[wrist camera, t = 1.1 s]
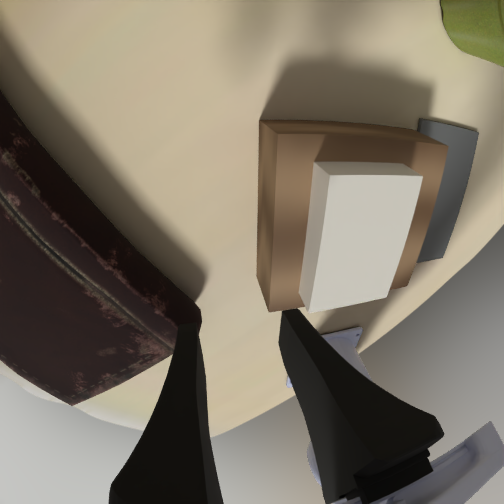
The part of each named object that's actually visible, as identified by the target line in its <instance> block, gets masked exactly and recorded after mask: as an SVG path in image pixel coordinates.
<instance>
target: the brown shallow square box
mask: <svg viewBox="0 0 504 504" xmlns="http://www.w3.org/2000/svg"><path fill="white" fill-rule="evenodd" d="M448 147H449V146H447V145H445V144H443V143H441V142H439V141H437V140H435V139H433V138H431V137H429V136H426V135H424V134H422V133H420V132H417V131H415V130H412V129H405V128H397V127H389V126H381V125H371V124H361V123H348V122H333V121H312V120H259V166H258V226H257V279H258V282H259V285H260V288H261V291H262V294H263V297H264V300H265V303H266V306H267V309H268V311H269V312H275V311H281V310H287V309H294V308H300V307H305V305H304V303H303V301H302V299H301V296H300V294H299V286H300V279H301V272H302V264H303V257H304V249H305V241H306V232H307V224H308V215H309V205H310V196H311V186H312V175H313V164H314V162H379V163H401V164H404V165H406V166H408V167H409V168H411V169H412V170H414V171H416V172H417V173H419V174H420V175H422V176H423V179H422V183H421V187H420V192H419V196H418V200H417V204H416V207H415V211H414V215H413V218H412V222H411V226H410V229H409V232H408V236H407V239H406V242H405V245H404V249H403V252H402V255H401V258H400V261H399V264H398V267H397V270H396V273H395V275H394V278H393V281H392V284H391V287H390V289H389V290H392V289H397V288H401V287H405V286H407V285H408V283H409V280H410V278H411V275H412V272H413V270H414V267H415V264H416V262H417V259H418V256H419V253H420V250H421V247H422V245H423V242H424V239H425V236H426V232H427V229H428V226H429V223H430V220H431V216H432V213H433V209H434V206H435V202H436V199H437V195H438V191H439V187H440V183H441V179H442V175H443V171H444V166H445V162H446V157H447V152H448Z"/></svg>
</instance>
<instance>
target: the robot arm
mask: <svg viewBox="0 0 504 504" xmlns="http://www.w3.org/2000/svg"><path fill="white" fill-rule="evenodd" d="M362 331H363V329H362V328H361V327H356V328H352V329H348V330H343V331H339V332H335V333H330V334H325V335H320V334H319V332H318V331H317V330H316V329H315V328H314V327H313V326H312V325H311V323H310V322H309V321H308V320H307V319H306V317H305V316H304V315H303V314H302V313H301V311H300V310H299V309H297V308H296V309H290V310H283V311H282V316H281V325H280V334H279V347H280V351H281V355H282V359H283V363H284V366H285V369H286V371H287V374H288V377H287V382H286V386H287V387H288V388H290V387H293V389H294V391H295V394H296V396H297V399H298V401H299V404H300V406H301V409H302V411H303V414H304V417H305V420H306V424H307V427H308V431H309V435H310V438H311V441H310V443H309V446H308V449H307V457H308V461H309V465H310V468H311V471H312V473H313V475H314V477H315V479H316V480H317V482H318V483H319V484H320V486H321V487H322V491H323V497H324V500H325V503H326V504H331V503H332V504H464V503H465V502H466V501H467V500H469V499H470V498H471V497H472V496H473V495H474V494H475V493H476V492H477V491H478V490H479V489H480V488H481V487H482V486H483V485H484V484H485V483H486V482H487V481H488V480H489V479H490V478H491V477H493V476H494V475H495V474H496V473H497V472H498V471H499V470H500V469H501V468H502V467H503V466H504V444H503V442H502V441H501V439H500V437H499V435H498V433H497V431H496V429H495V427H494V426H493V424H492V422H491V421H489V422H488V423H487V424H485V425H484V426H483V427H482V428H480V429H479V430H477V431H476V432H475V433H473V434H472V435H471V436H469V437H468V438H467V439H465V441H463V442H462V443H460V444H459V445H457V446H456V447H454V448H453V449H451V450H450V451H448V452H447V453H445V454H443V455H442V456H440V457H438V458H437V459H435V460H433V461H432V462H429V460H428V458H427V457H429V456H430V453H429V451H428V448H429V447H430V446H432V445H433V444H434V443H436V442H437V441H439V440H440V439H441V438H442V437H443V436H444V432H443V430H442V428H441V426H440V424H439V422H438V421H437V419H436V417H435V416H434V415H431V414H429V413H427V412H424V411H422V410H420V409H418V408H415V407H413V406H411V405H409V404H407V403H406V402H404V401H402V400H400V399H398V398H397V397H395V396H393V395H392V394H390V393H389V392H387V391H385V390H384V389H382V388H380V387H379V386H378V385H376V384H375V383H373V382H372V380H371V378H370V376H369V374H368V372H367V370H366V368H365V366H364V364H363V362H362V360H361V358H360V357H359V354H358V353H357V351H356V349H355V348H356V346H357V343H358V341H359V339H360V336H361V334H362ZM109 504H224V503H223V499H222V495H221V490H220V486H219V481H218V477H217V472H216V467H215V462H214V457H213V452H212V446H211V440H210V434H209V425H208V409H207V390H206V375H205V368H204V361H203V354H202V349H201V344H200V339H199V334H198V328H197V323H188V324H180V325H179V326H178V332H177V338H176V343H175V348H174V352H173V356H172V360H171V363H170V367H169V370H168V374H167V377H166V380H165V382H164V385H163V388H162V391H161V394H160V396H159V399H158V402H157V404H156V406H155V409H154V411H153V413H152V416H151V418H150V420H149V422H148V424H147V426H146V428H145V430H144V432H143V435H142V436H141V438H140V440H139V442H138V444H137V445H136V447H135V449H134V450H133V452H132V454H131V455H130V457H129V459H128V460H127V462H126V463H125V465H124V466H123V468H122V469H121V471H120V472H119V474H118V475H117V476H116V478H115V479H114V481H113V482H112V484H111V487H110V493H109Z"/></svg>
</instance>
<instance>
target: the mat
mask: <svg viewBox="0 0 504 504" xmlns="http://www.w3.org/2000/svg"><path fill="white" fill-rule="evenodd" d="M418 132H420V133H422V134H424V135H426V136H429V137H431V138H433V139H435V140H437V141H439V142H441V143H443V144H445V145H447V146H449V147H448V152H447V157H446V162H445V166H444V171H443V175H442V179H441V183H440V187H439V191H438V195H437V199H436V202H435V206H434V209H433V213H432V216H431V220H430V223H429V226H428V229H427V232H426V236H425V239H424V242H423V245H422V247H421V250H420V253H419V256H418V259H417V262H416V263H419V262H424V261H429V260H435V259H440V258H443V256H444V253H445V251H446V248H447V245H448V243H449V240H450V237H451V234H452V232H453V229H454V226H455V223H456V220H457V217H458V214H459V211H460V207H461V204H462V201H463V197H464V194H465V190H466V187H467V183H468V179H469V175H470V171H471V167H472V163H473V159H474V154H475V150H476V145H477V140H478V135H479V132H476V131H472V130H469V129H465V128H461V127H457V126H453V125H449V124H444V123H440V122H435V121H430V120H425V119H419V126H418Z"/></svg>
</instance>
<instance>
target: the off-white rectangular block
mask: <svg viewBox="0 0 504 504" xmlns="http://www.w3.org/2000/svg"><path fill="white" fill-rule="evenodd" d="M422 179H423V176H422V175H420V174H419V173H417V172H416V171H414V170H412V169H411V168H409V167H408V166H406V165H404V164H401V163H379V162H314V164H313V175H312V186H311V196H310V205H309V215H308V224H307V232H306V241H305V249H304V257H303V264H302V272H301V279H300V286H299V294H300V296H301V299H302V301H303V303H304V305H305V307H306V309H307V311H308V313H313V312H319V311H324V310H329V309H334V308H340V307H344V306H349V305H354V304H359V303H364V302H368V301H373V300H377V299H382V298H386V297H387V295H388V292H389V289H390V287H391V284H392V281H393V278H394V275H395V273H396V270H397V267H398V264H399V261H400V258H401V255H402V252H403V249H404V245H405V242H406V239H407V236H408V232H409V229H410V226H411V222H412V218H413V215H414V211H415V207H416V204H417V200H418V196H419V192H420V187H421V183H422Z"/></svg>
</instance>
